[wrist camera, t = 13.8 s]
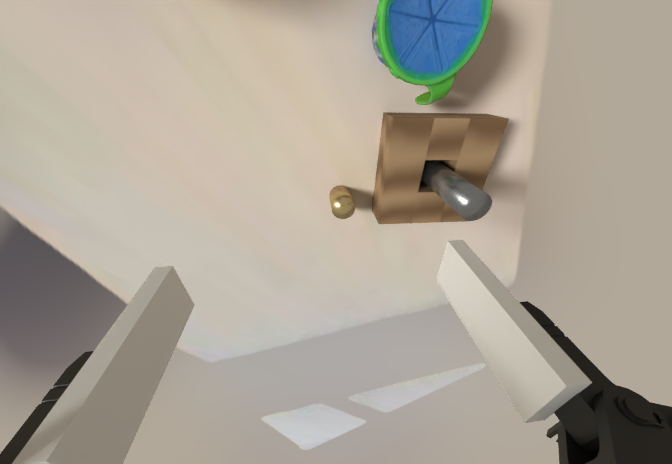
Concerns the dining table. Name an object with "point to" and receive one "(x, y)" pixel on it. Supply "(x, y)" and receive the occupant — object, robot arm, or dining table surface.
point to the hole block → (430, 144)
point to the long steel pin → (456, 191)
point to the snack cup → (429, 40)
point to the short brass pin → (341, 202)
